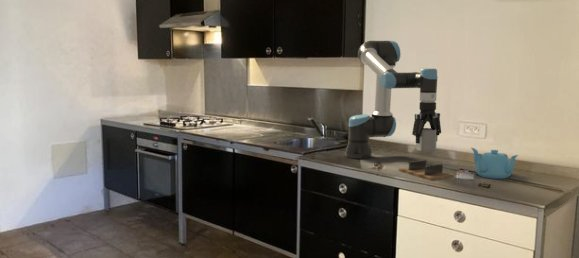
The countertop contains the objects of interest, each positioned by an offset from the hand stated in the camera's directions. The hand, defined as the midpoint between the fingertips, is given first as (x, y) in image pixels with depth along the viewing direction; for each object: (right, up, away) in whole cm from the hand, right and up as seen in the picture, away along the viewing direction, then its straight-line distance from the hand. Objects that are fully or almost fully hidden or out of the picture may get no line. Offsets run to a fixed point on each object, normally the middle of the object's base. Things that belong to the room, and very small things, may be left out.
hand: (426, 149), depth 232 cm
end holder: (0, -12, +2) cm, 12 cm away
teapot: (+30, -13, -2) cm, 33 cm away
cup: (0, -1, 0) cm, 1 cm away
